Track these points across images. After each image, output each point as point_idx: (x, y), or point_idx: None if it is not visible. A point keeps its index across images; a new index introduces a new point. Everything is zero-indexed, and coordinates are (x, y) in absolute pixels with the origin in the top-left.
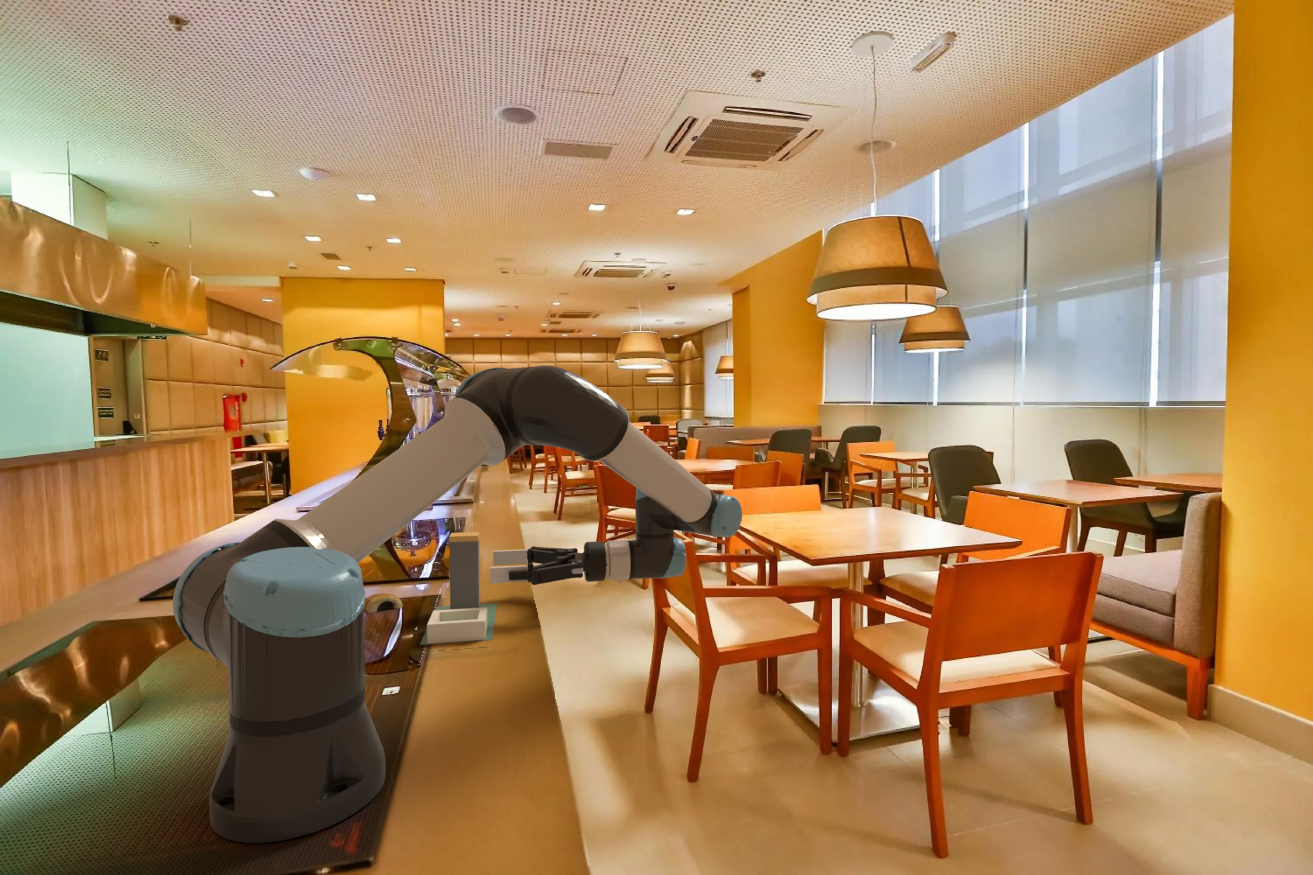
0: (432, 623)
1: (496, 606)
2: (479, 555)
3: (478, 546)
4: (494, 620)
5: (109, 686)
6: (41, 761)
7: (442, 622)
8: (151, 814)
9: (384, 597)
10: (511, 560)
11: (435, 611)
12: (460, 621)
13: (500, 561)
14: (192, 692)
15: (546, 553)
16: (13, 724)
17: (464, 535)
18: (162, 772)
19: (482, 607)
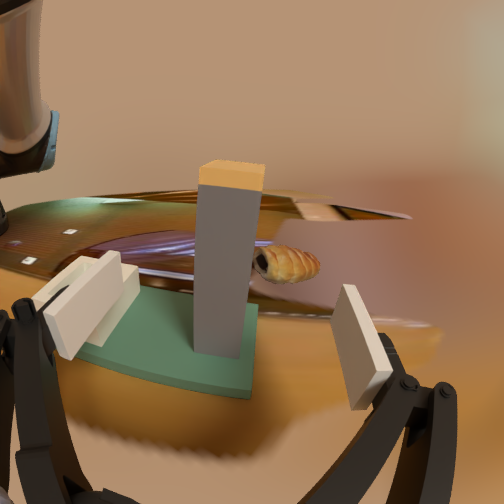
0: (80, 259)
1: (222, 386)
2: (244, 244)
3: (207, 204)
4: (117, 362)
5: (165, 199)
6: (89, 198)
7: (74, 266)
8: (16, 215)
9: (264, 249)
10: (346, 352)
11: (130, 267)
12: (58, 278)
13: (336, 327)
14: (127, 211)
15: (334, 468)
16: (138, 192)
17: (218, 163)
18: (42, 213)
19: (225, 361)
